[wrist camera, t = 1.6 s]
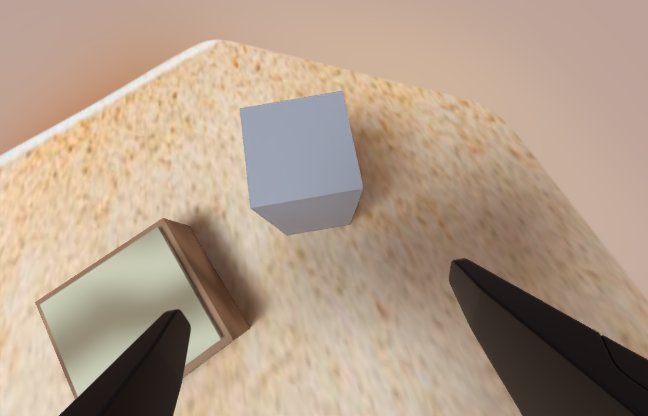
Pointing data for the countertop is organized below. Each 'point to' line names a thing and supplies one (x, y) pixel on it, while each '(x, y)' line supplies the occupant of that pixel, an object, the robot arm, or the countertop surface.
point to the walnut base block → (139, 303)
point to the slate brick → (301, 163)
